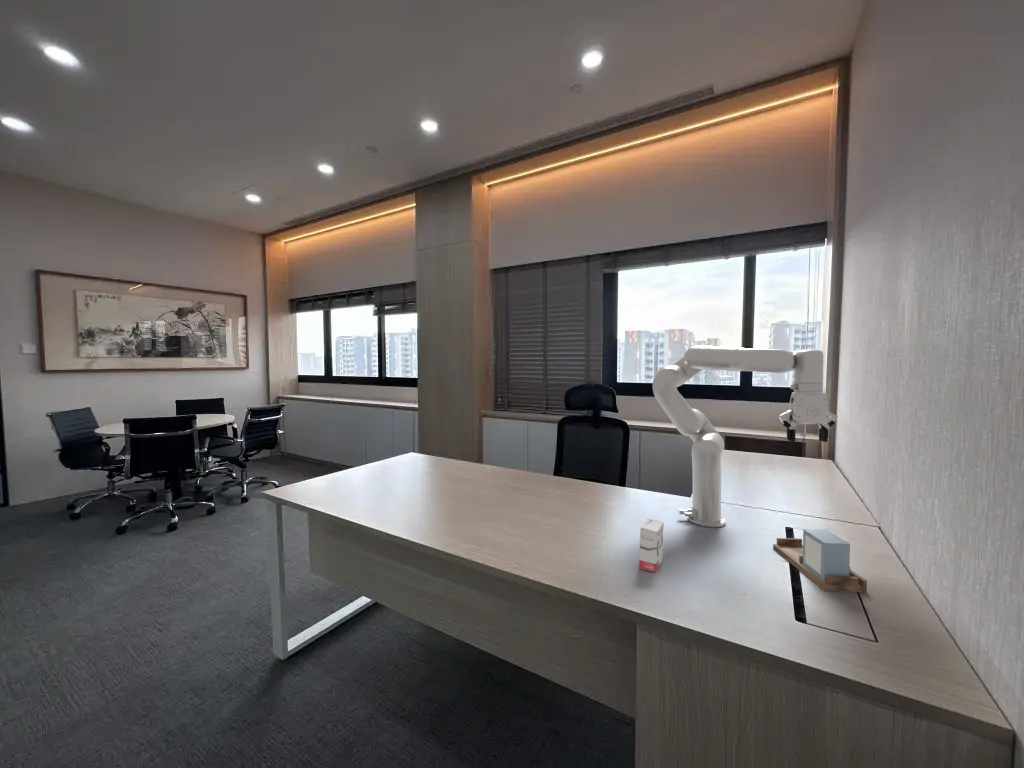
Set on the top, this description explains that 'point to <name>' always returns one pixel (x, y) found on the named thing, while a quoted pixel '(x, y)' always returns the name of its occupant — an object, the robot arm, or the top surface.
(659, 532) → the ink box
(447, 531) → the top surface
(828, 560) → the blue-grey rectangular block
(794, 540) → the brown wooden shallow tray
